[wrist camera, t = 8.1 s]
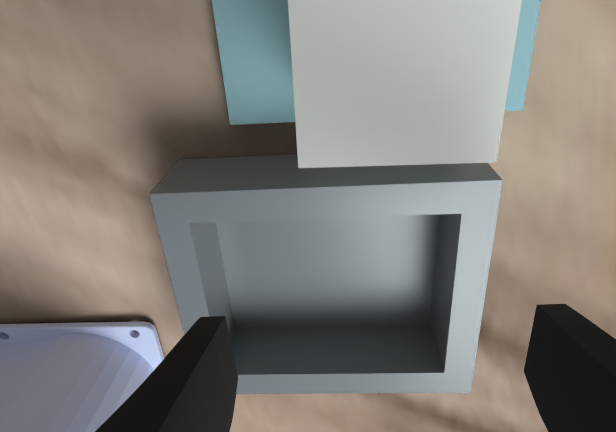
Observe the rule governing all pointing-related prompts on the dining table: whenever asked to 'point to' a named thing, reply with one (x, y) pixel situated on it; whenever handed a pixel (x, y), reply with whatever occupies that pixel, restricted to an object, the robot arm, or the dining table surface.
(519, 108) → the mat
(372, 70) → the block
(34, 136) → the dining table surface
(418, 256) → the case
